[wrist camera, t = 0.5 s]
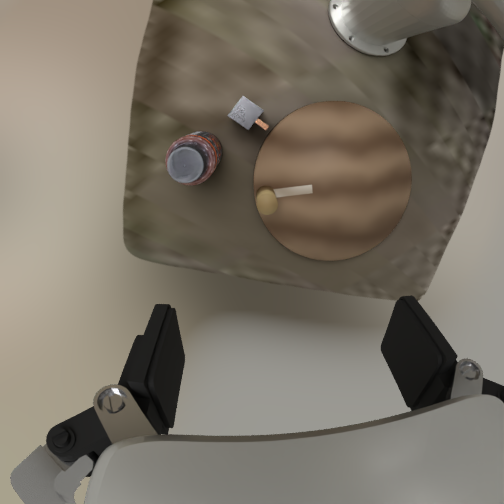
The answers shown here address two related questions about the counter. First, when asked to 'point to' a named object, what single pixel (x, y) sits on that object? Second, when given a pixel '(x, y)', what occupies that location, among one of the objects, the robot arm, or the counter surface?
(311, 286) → the counter surface
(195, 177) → the supplement bottle
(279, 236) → the turntable
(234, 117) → the small hammer
